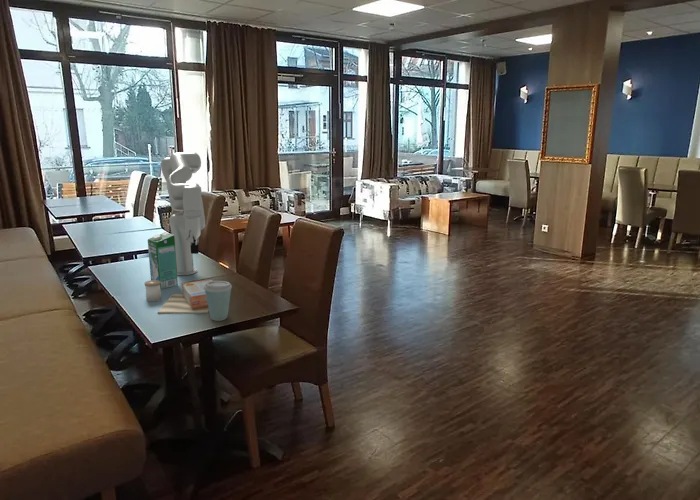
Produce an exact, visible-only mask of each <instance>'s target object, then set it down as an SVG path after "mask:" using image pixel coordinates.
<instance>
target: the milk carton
mask: <svg viewBox="0 0 700 500" xmlns="http://www.w3.org/2000/svg"><path fill="white" fill-rule="evenodd" d="M147 249H148V259H149V260H148V261H149V272H150V275H149V276H150V280H159V281H160V282H161V284H160V290H163V289H168V288H171V287H175V286H178V283H179V282H178V275H177V266H176V252H175V237H174V235H172V233H169V232H162V233H160V234H157V235H153V236H152V237H150V238H148V239H147Z"/></svg>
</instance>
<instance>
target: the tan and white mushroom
mask: <svg viewBox="0 0 700 500" xmlns="http://www.w3.org/2000/svg"><path fill="white" fill-rule="evenodd" d="M160 284H161V282H160V281H159V280H151V279H149V280H147V281H145V282H144V286H145V297H146V301H147V302H157V301H160V300H162V293H161V289H160Z"/></svg>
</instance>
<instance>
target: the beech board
mask: <svg viewBox="0 0 700 500" xmlns="http://www.w3.org/2000/svg"><path fill="white" fill-rule="evenodd" d="M205 313H206V314H208V313H209V308H208V306H205V307H200V308H194V309H192V308H191V306H190V305H189V304H188V302H187V301H186V299H185V298H184V296H183V295H182V293H172V295H171V296H170V297H169V298H168V299H167V301H166V302H165V303H164V304H163V305H162V306H161V308H159V310H158V311H157V314H205Z"/></svg>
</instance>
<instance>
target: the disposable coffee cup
mask: <svg viewBox="0 0 700 500" xmlns="http://www.w3.org/2000/svg"><path fill="white" fill-rule="evenodd" d="M232 288H233V285H232V283H230V282H229V281H225V280H214V281H211V282H207V283H206V285H205V286H204V289H205V293H206V298H207V303H208V308H209V311H208V313H209V317H210V319H211V320H212V321H217V322H218V321H225V320H226V319H227V318H228V315H229V307H230V301H231V293H232Z"/></svg>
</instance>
